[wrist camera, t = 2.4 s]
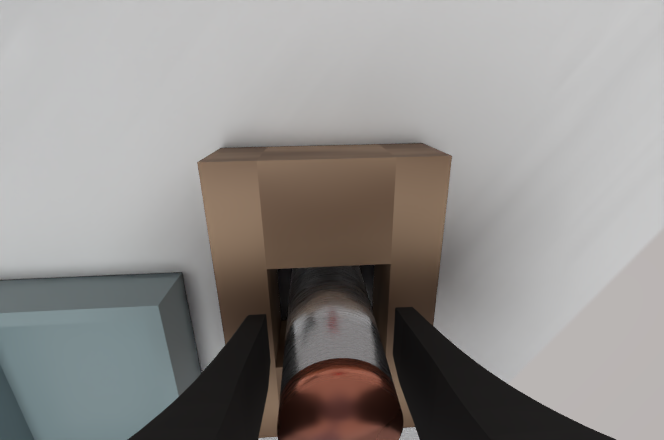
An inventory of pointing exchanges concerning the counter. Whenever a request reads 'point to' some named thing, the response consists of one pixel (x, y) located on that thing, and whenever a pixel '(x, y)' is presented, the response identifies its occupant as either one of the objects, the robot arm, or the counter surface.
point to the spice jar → (335, 362)
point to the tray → (92, 355)
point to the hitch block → (324, 232)
